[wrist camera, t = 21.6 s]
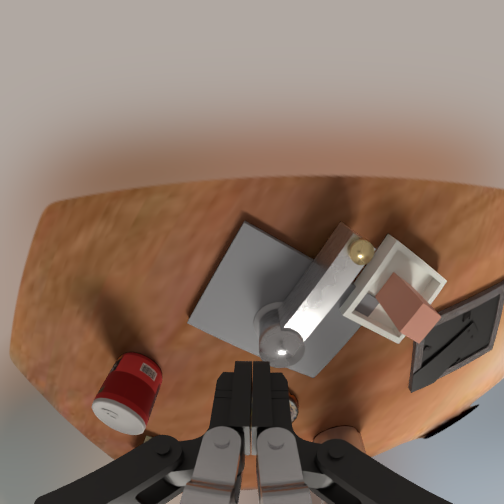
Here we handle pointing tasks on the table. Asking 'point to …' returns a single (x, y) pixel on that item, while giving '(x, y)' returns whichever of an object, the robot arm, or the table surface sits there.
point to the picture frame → (457, 337)
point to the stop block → (407, 308)
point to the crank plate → (268, 298)
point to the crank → (312, 297)
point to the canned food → (128, 394)
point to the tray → (375, 276)
